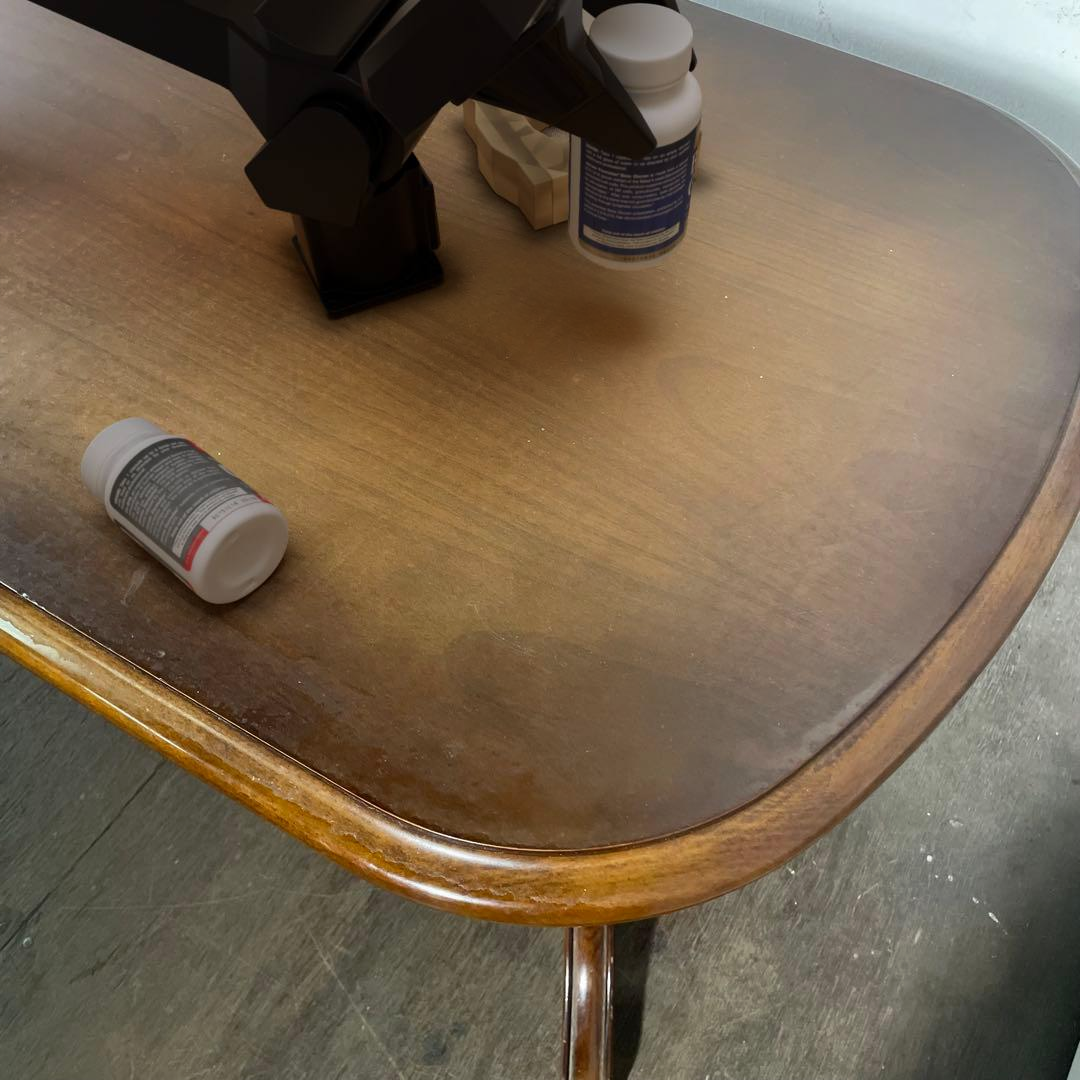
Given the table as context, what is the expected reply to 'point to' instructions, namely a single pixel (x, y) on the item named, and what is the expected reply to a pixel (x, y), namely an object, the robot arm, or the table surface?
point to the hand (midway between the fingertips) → (668, 112)
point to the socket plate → (523, 161)
